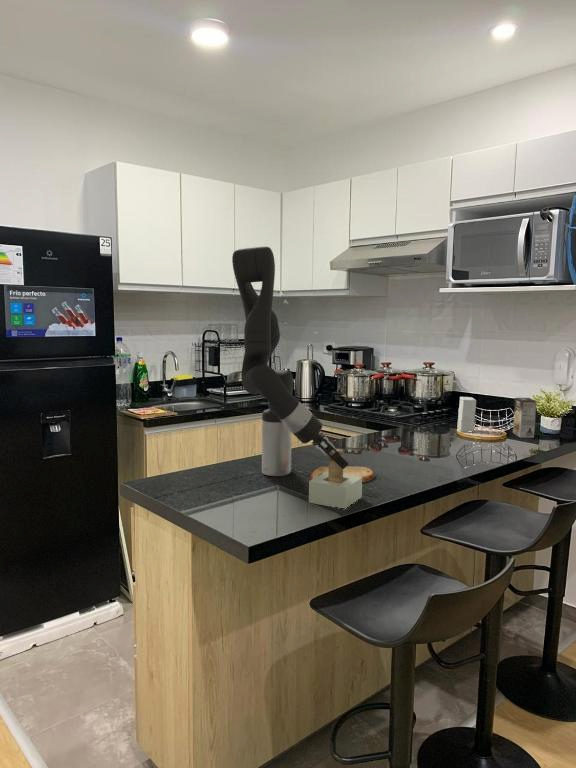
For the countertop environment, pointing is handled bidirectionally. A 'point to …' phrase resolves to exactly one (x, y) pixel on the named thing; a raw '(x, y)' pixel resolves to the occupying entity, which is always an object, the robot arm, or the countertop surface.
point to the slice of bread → (348, 472)
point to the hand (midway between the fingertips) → (341, 462)
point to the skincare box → (466, 414)
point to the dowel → (335, 468)
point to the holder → (335, 491)
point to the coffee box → (524, 417)
